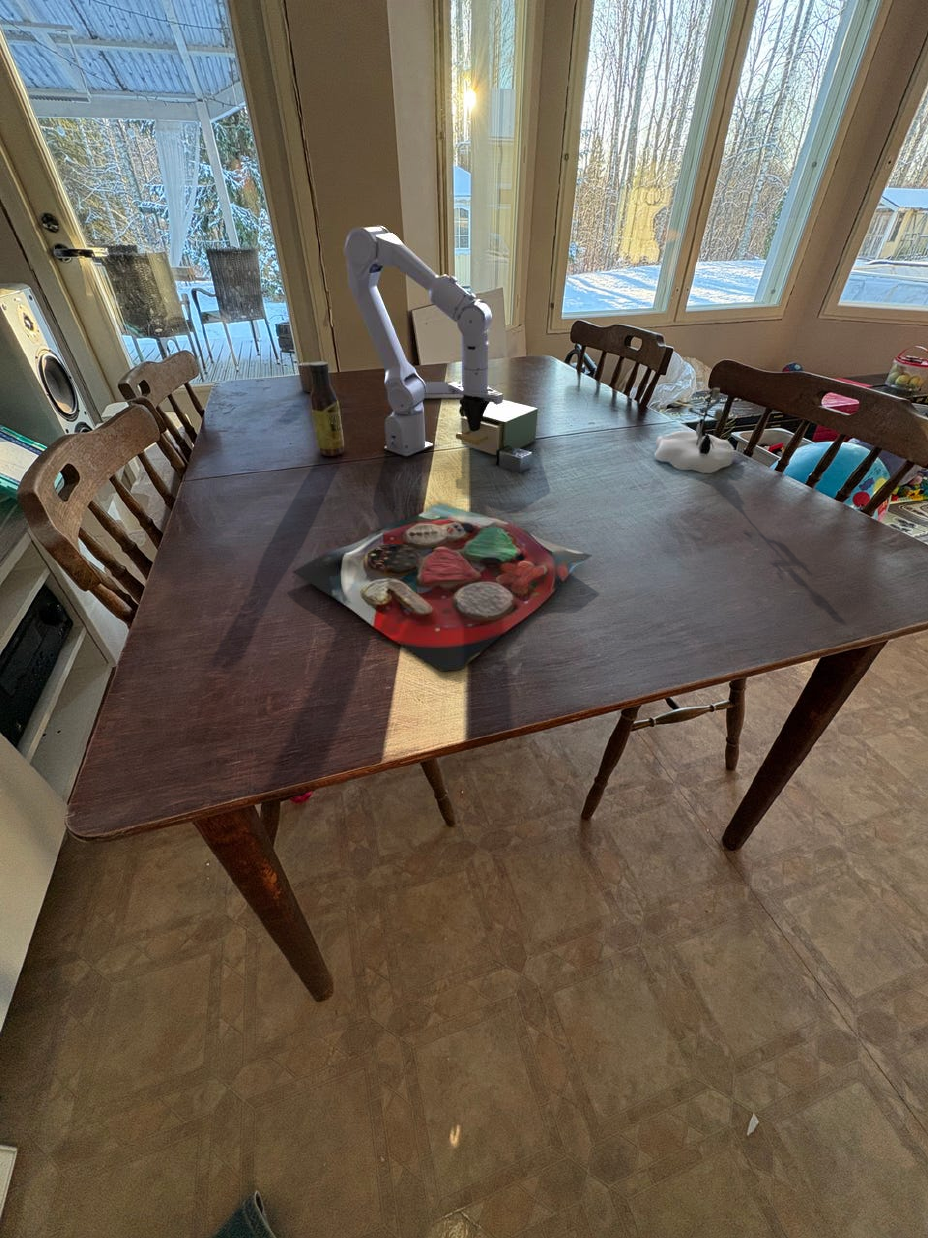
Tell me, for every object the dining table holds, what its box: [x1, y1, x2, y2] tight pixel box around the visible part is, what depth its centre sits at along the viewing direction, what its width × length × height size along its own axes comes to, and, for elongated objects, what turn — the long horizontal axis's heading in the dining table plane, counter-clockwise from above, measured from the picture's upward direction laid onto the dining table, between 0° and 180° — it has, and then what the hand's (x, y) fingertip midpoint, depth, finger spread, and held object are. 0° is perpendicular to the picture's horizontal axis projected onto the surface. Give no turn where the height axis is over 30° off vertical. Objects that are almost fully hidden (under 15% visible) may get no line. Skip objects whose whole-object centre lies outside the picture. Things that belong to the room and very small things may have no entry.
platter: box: [292, 503, 593, 672], centre depth 83 cm, size 35×35×2 cm
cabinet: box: [482, 399, 539, 449], centre depth 127 cm, size 13×12×8 cm
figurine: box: [654, 386, 738, 474], centre depth 116 cm, size 20×18×16 cm
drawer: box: [455, 416, 504, 456], centre depth 124 cm, size 17×11×6 cm, turn 139°
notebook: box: [424, 381, 463, 400], centre depth 163 cm, size 13×2×21 cm
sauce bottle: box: [309, 361, 345, 457], centre depth 118 cm, size 7×6×20 cm
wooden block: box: [297, 361, 314, 394], centre depth 163 cm, size 4×4×8 cm
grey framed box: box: [495, 445, 533, 474], centre depth 116 cm, size 4×7×4 cm, turn 49°
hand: (474, 430), depth 120 cm, fingers closed
